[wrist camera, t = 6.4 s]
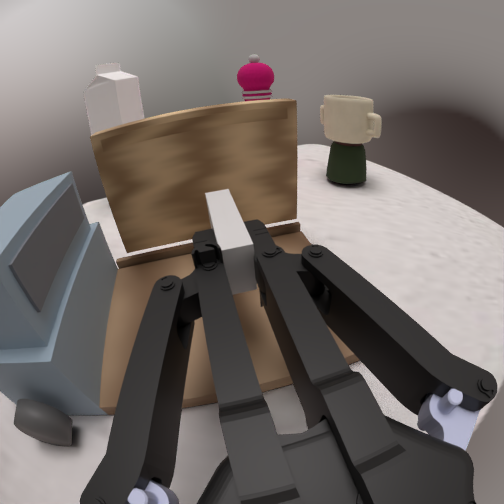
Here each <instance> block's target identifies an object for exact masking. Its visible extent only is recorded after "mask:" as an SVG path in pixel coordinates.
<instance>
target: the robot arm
mask: <svg viewBox="0 0 504 504" xmlns="http://www.w3.org/2000/svg"><path fill="white" fill-rule="evenodd" d="M205 195H206V201H207V207H208V213H209V219H210V224H211V229H207V230H202V231H197V232H195V234H194V235H193V237H192V239H193V247H194V249H193V250H192V253H191V255H192V259H193V263H194V266H195V269H194V271H193V272H192V273H191V274H190V275H188V276H186V277H184V278H182V279H180V277H178V276H175V275H168V276H164V277H162V278H160V279H159V280H157V281H156V283H155V284H154V286H153V289H152V291H151V294H150V297H149V300H148V303H147V306H146V308H145V311H144V314H143V317H142V320H141V323H140V326H139V329H138V332H137V336H136V339H135V342H134V345H133V348H132V352H131V355H130V358H129V362H128V365H127V369H126V372H125V376H124V379H123V383H122V387H121V390H120V394H119V398H118V402H117V406H116V410H115V414H114V419H113V423H112V427H111V432H110V436H109V441H108V446H107V451H106V455H105V456H104V458H103V459H102V461H101V463H100V464H99V466H98V468H97V469H96V471H95V473H94V474H93V476H92V478H91V479H90V481H89V483H88V484H87V486H86V488H85V489H84V491H83V493H82V495H81V498H80V504H179V500H178V498H177V496H176V494H175V493H174V492H173V491H171V490H170V489H169V487H170V485H171V481H172V478H173V475H174V468H175V462H176V452H177V443H178V435H179V426H180V418H181V411H182V403H183V396H184V389H185V382H186V375H187V368H188V362H189V356H190V349H191V343H192V337H193V331H194V325H195V320H197V319H199V318H201V317H202V319H203V326H204V332H205V337H206V343H207V349H208V354H209V360H210V365H211V370H212V375H213V380H214V385H215V390H216V395H217V400H218V405H219V418H220V423H221V427H222V431H223V436H224V440H225V444H226V448H227V452H228V456H227V457H226V458H225V459H224V460H223V461H222V462H221V463H220V465H219V466H218V467H217V469H216V470H215V472H214V474H213V476H212V478H211V479H210V481H209V483H208V485H207V487H206V488H205V490H204V492H203V494H202V495H201V497H200V499H199V501H198V502H197V504H476V502H475V500H474V494H473V476H474V467H473V462H472V460H471V457H470V456H469V454H468V453H467V452H466V448H467V445H468V443H469V440H470V438H471V435H472V432H473V429H474V426H475V423H476V420H477V417H478V414H479V411H480V410H481V409H482V408H483V407H484V406H485V405H486V404H488V403H489V402H490V401H491V400H492V399H493V398H494V397H495V395H496V393H497V383H496V379H495V378H494V376H493V375H492V374H491V373H489V372H488V371H486V370H484V369H482V368H480V367H478V366H476V365H474V364H471V363H469V362H467V361H465V360H463V359H461V358H459V357H457V356H455V355H453V354H451V353H450V352H449V351H448V350H447V349H446V348H445V347H443V346H442V345H441V344H440V343H439V342H438V341H437V340H436V339H435V338H434V337H432V336H431V335H430V334H429V333H428V332H427V331H426V330H425V329H424V328H422V327H421V326H420V325H419V324H418V323H417V322H416V321H414V320H413V319H412V318H411V317H410V316H409V315H408V314H406V313H405V312H404V311H403V310H402V309H401V308H399V307H398V306H397V305H396V304H395V303H394V302H392V301H391V300H390V299H389V298H388V297H386V296H385V295H384V294H383V293H382V292H380V291H379V290H378V289H377V288H376V287H374V286H373V285H372V284H371V283H370V282H368V281H367V280H366V279H365V278H363V277H362V276H361V275H360V274H359V273H357V272H356V271H355V270H354V269H352V268H351V267H350V266H349V265H347V264H346V263H345V262H344V261H342V260H341V259H340V258H338V257H337V256H336V255H335V254H333V253H332V252H331V251H330V250H328V249H327V248H325V247H323V246H321V245H309V246H306V247H304V248H303V250H302V254H291V253H286V252H285V251H284V250H283V249H282V248H281V247H279V246H277V245H276V244H275V242H274V241H273V239H272V237H271V235H270V234H269V232H268V230H267V229H266V227H265V225H264V223H263V222H261V221H259V220H258V219H256V220H250V221H245V222H243V220H242V218H241V216H240V213H239V211H238V209H237V207H236V205H235V202H234V200H233V198H232V196H231V194H230V191H229V189H225V190H219V191H214V192H208V193H205ZM257 284H258V287H259V293H260V305H261V307H263V306H264V309H265V311H266V314H267V317H268V319H269V322H270V324H271V327H272V330H273V332H274V335H275V337H276V340H277V343H278V345H279V348H280V350H281V353H282V356H283V358H284V361H285V363H286V366H287V369H288V371H289V374H290V376H291V379H292V381H293V384H294V387H295V389H296V392H297V394H298V397H299V399H300V402H301V404H302V407H303V410H304V412H305V416H306V422H307V427H308V430H307V431H306V432H304V433H300V434H285V435H277V432H276V429H275V426H274V423H273V420H272V417H271V414H270V411H269V408H268V406H267V403H266V401H265V400H264V397H263V395H262V391H261V388H260V385H259V382H258V379H257V376H256V372H255V369H254V366H253V363H252V359H251V356H250V353H249V349H248V346H247V343H246V339H245V336H244V333H243V329H242V326H241V322H240V319H239V316H238V312H237V309H236V305H235V302H234V298H233V294H238V293H243V292H247V291H252V290H256V289H257ZM327 326H328V327H329V328H330V329H331V330H332V331H333V332H334V333H335V334H336V335H337V336H338V337H339V338H340V339H341V341H342V342H343V343H344V344H345V345H346V346H347V347H348V348H349V349H350V350H351V351H352V352H353V353H354V354H355V355H356V356H357V357H358V359H359V360H360V361H361V362H362V363H363V364H364V365H365V366H366V367H367V368H368V369H369V370H370V371H371V372H372V373H373V374H374V376H375V377H376V378H377V379H378V380H379V381H380V382H381V383H382V384H383V385H384V386H385V387H386V388H387V389H388V390H389V391H390V393H391V394H392V395H393V396H394V397H395V398H396V399H397V400H398V401H399V402H400V403H401V404H402V405H403V406H405V407H406V408H407V409H409V410H410V411H411V412H413V413H414V414H416V415H418V423H417V425H418V428H419V429H420V430H422V431H426V432H427V433H428V434H429V435H428V434H425V433H423V432H421V431H418V430H416V429H414V428H411V427H409V426H407V425H405V424H402V423H400V422H398V421H396V420H393V419H391V418H389V417H387V416H385V415H384V414H383V413H382V411H381V409H380V407H379V405H378V403H377V401H376V399H375V397H374V396H373V394H372V392H371V390H370V388H369V386H368V384H367V383H366V381H365V379H364V378H363V376H362V375H361V374H360V373H359V372H353V371H352V370H351V369H350V367H349V365H348V364H347V362H346V360H345V358H344V356H343V354H342V352H341V351H340V349H339V347H338V345H337V343H336V341H335V339H334V338H333V336H332V334H331V332H330V330H329V329H328V327H327Z"/></svg>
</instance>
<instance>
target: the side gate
mask: <svg viewBox="0 0 504 504" xmlns="http://www.w3.org/2000/svg"><path fill="white" fill-rule="evenodd" d="M296 105H297V103H296V100H292V99H271V100H256V101H245V102H236V103H227V104H219V105H212V106H205V107H200V108H193V109H187V110H182V111H177V112H172V113H167V114H163V115H158V116H153V117H149V118H145V119H141V120H137V121H133V122H129V123H126V124H122V125H118V126H115V127H112V128H108V129H105V130H102V131H99V132H96V133H94V134H93V135H92V136H90V139H91V143H92V147H93V151H94V155H95V159H96V162H97V166H98V169H99V173H100V176H101V179H102V183H103V186H104V189H105V193H106V196H107V199H108V202H109V205H110V208H111V211H112V214H113V217H114V220H115V222H116V225H117V228H118V231H119V233H120V236H121V239H122V241H123V244H124V246H125V249H126V252H127V253H129V252H134V251H138V250H143V249H147V248H152V247H157V246H161V245H166V244H171V243H175V242H180V241H185V240H190V239H192V237H193V235H194V234H195V232H197V231H202V230H207V229H211V224H210V219H209V213H208V207H207V201H206V195H205V193H208V192H214V191H219V190H225V189H229V191H230V194H231V196H232V198H233V200H234V202H235V205H236V207H237V209H238V211H239V213H240V216H241V218H242V220H243V222H245V221H250V220H256V219H258V220H259V221H261V222H263V223H264V225H265V224H271V223H276V222H281V221H287V220H292V219H297V106H296Z"/></svg>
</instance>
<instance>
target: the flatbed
mask: <svg viewBox="0 0 504 504" xmlns="http://www.w3.org/2000/svg"><path fill="white" fill-rule="evenodd" d="M266 229H267V230H268V232H269V234H270V235H271V237H272V239H273V241H274V242H275V244H276V245H277V246H279V247H281V248H282V249H283V250H284V251H285V252H286V253H291V254H302V250H303V248H304V247H306V246H309V245H311V243H310V242H309V241H308V239H307V238H306V237H305V235H304V234H303V233H302V231H301V232H300V223H299V222H295V223H290V224H284V225H279V226H274V227H269V228H266ZM193 249H194V247H193V243H188V244H184V245H179V246H174V247H169V248H165V249H160V250H155V251H151V252H146V253H142V254H137V255H132V256H128V257H123V258H119V259H117V261H116V263H117V265H118V267H119V269H118V270H117V275H116V280H115V285H114V290H113V295H112V300H111V306H110V311H109V317H108V324H107V330H106V337H105V345H104V353H103V363H102V373H101V386H100V403H99V408H101V409H102V410H103V411H104V412H105V413H107V414H108V415H114V414H115V410H116V406H117V402H118V398H119V394H120V390H121V387H122V383H123V379H124V376H125V372H126V369H127V365H128V362H129V358H130V355H131V352H132V348H133V345H134V342H135V339H136V336H137V332H138V329H139V326H140V323H141V320H142V317H143V314H144V311H145V308H146V306H147V303H148V300H149V297H150V294H151V291H152V289H153V286H154V284H155V283H156V281H157V280H159V279H160V278H162V277H164V276H168V275H175V276H178V277H180V279H182V278H184V277H186V276H188V275H190V274H191V273H192V272H193V271H194V269H195V266H194V263H193V259H192V255H191V253H192V250H193ZM233 298H234V302H235V305H236V309H237V312H238V316H239V319H240V322H241V326H242V329H243V333H244V336H245V339H246V343H247V346H248V349H249V353H250V356H251V359H252V363H253V366H254V369H255V372H256V376H257V379H258V382H259V385H260V388H261V391H262V392H265V391H268V390H272V389H276V388H280V387H283V386H287V385H290V384H293V381H292V379H291V376H290V374H289V371H288V369H287V366H286V363H285V361H284V358H283V356H282V353H281V350H280V348H279V345H278V343H277V340H276V337H275V335H274V332H273V330H272V327H271V324H270V322H269V319H268V317H267V314H266V311H265V309H264V306H263V307H261V305H260V293H259V287H258V284H257V289H256V290H252V291H247V292H243V293H238V294H233ZM327 327H328V326H327ZM328 329H329V330H330V332H331V334H332V336H333V338H334V339H335V341H336V343H337V345H338V347H339V349H340V351H341V352H342V354H343V356H344V358H345V360H346V362H347V364H348V365H349V364H352V363H354V362H357V361H359V359H358V357H357V356H356V355H355V354H354V353H353V352H352V351H351V350H350V349H349V348H348V347H347V346H346V345H345V344H344V343H343V342H342V341H341V339H340V338H339V337H338V336H337V335H336V334H335V333H334V332H333V331H332V330H331V329H330V328H329V327H328ZM216 402H218V400H217V395H216V390H215V385H214V380H213V375H212V370H211V365H210V360H209V354H208V349H207V343H206V337H205V332H204V326H203V319H202V317H201V318H199V319H197V320H195V325H194V331H193V337H192V343H191V349H190V356H189V362H188V368H187V375H186V382H185V389H184V396H183V403H182V408H186V407H193V406H199V405H205V404H210V403H216Z"/></svg>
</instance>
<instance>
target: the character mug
mask: <svg viewBox="0 0 504 504" xmlns="http://www.w3.org/2000/svg"><path fill="white" fill-rule="evenodd" d="M320 121H321V123H322V124H323V125H324V133H325V136H326V137H327V138H328V139H331V140H334V142H333V143H332V145H331V148H330V154H329V160H328V166H327V174H326V176H327V177H328V178H329V179H330V180H332V181H334V182H337V183H345V184H349V183H352V184H355V183H359V182H364V181H366V156H365V149H364V146H363V145H362V143H366V142H369V141H370V140H371V138H372V137H375V138H379V137H380V134H381V116H379V115H377V114H374V113H373V100H372V99H368V98H363V97H356V96H346V95H325V96H324V105H322V106H321V108H320ZM373 127H374V130H373Z"/></svg>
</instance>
